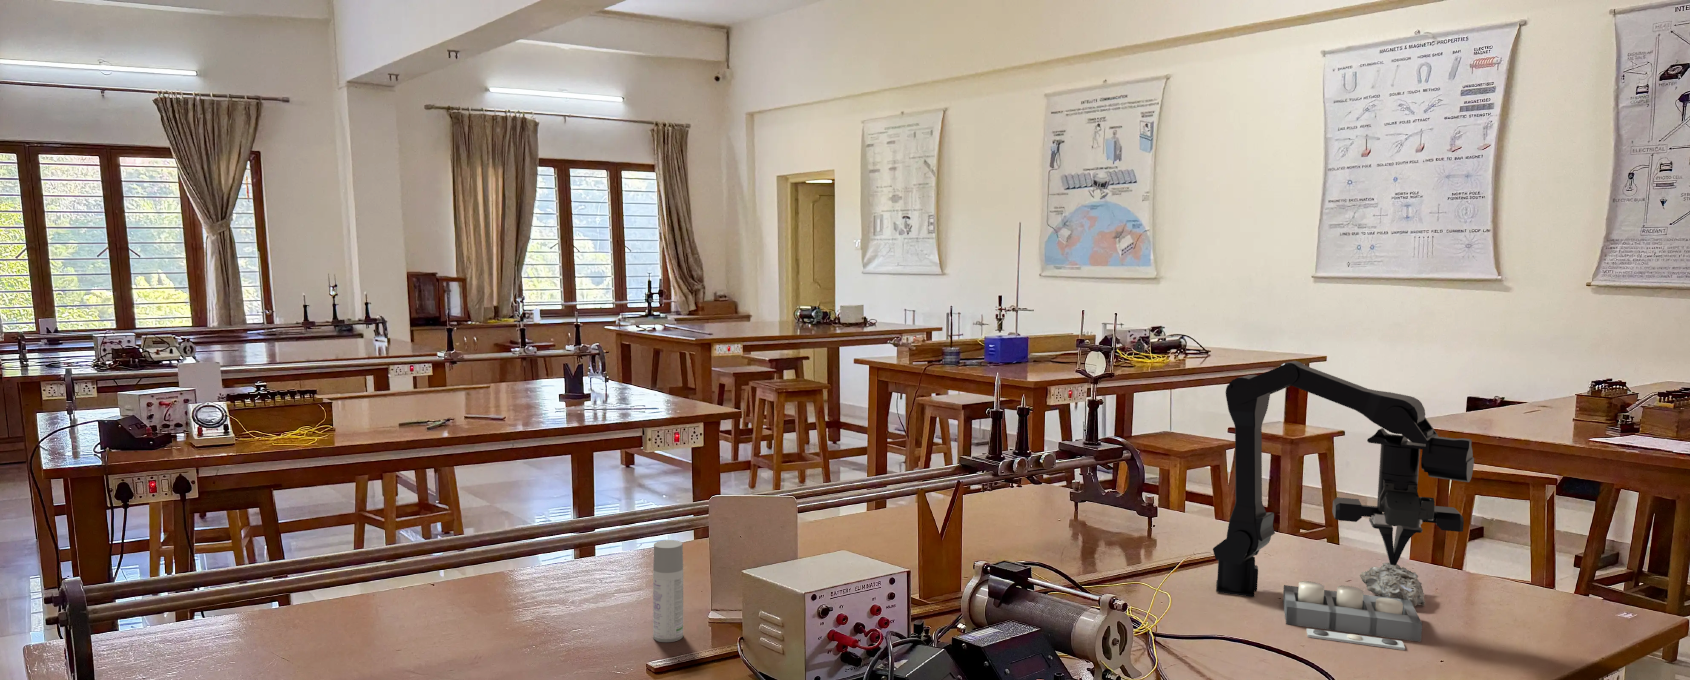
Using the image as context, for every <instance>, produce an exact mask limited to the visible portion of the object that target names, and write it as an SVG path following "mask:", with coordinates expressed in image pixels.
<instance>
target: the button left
mask: <svg viewBox="0 0 1690 680" xmlns="http://www.w3.org/2000/svg"><path fill="white" fill-rule="evenodd" d="M1298 587H1299V589H1298V602H1306V603H1314V604H1322V605H1323V601H1324V590H1325V585H1324V584H1322V583H1320V582H1316V581H1309V580H1308V581H1307V580H1304V581H1299V582H1298Z"/></svg>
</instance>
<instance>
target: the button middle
mask: <svg viewBox="0 0 1690 680" xmlns="http://www.w3.org/2000/svg"><path fill="white" fill-rule="evenodd" d="M1336 591H1337V599H1336V606H1338V607H1346V608H1354V609H1362V607H1363V595H1364V590H1363V589H1362V588H1359V587H1356V586H1352V585H1351V586H1350V585H1339V586H1337V587H1336Z"/></svg>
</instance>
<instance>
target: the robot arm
mask: <svg viewBox="0 0 1690 680" xmlns="http://www.w3.org/2000/svg"><path fill="white" fill-rule="evenodd" d="M1289 387H1293V388H1296V389H1299V390H1303V391H1304V392H1307V393H1309V394H1312V395H1314V396H1318V397H1319V398H1323V399H1325V400H1328V401H1331V402H1332V403H1336V404H1338V405H1340V406H1341V405H1342V406H1343V407H1346V408H1348V409H1352V410H1354V411H1356V412H1357V413H1360V414H1361V415H1363V416H1364V417H1365V418H1366V419H1368V420H1369V421H1370V422H1372V423H1373V424H1375V425H1377V426H1378V427H1381V428H1380V429H1379V428H1378V429H1377V431H1376V432H1375V433H1374V434H1373V435H1372V436H1369V438H1367V443H1369V444H1377V445H1380V452H1379V453H1380V454H1379V468H1378V469H1379V470H1378V472H1379V473H1378V485H1377V499H1376V500H1377V502H1376V505H1367V504H1362V503H1361V501H1360V499H1359V498H1351V497H1350V498H1348V497H1339V496H1338V497H1336V498H1334V499H1333V500H1332V511H1331V512H1332V515H1333V518H1334V519H1335V520H1337V521H1341V522H1342V521H1343V522H1353V523H1357V522H1358V521H1359V520H1361V519H1362V518H1363V517H1366V518H1368V522H1369V523H1370V525H1371V527H1372V528H1373V529H1375V530H1376V529H1377V530H1378V531H1379V534H1380V536H1381V538H1382V541H1383V545H1384V548H1385V551H1386V555H1387V559H1388V563H1389V562H1390V565H1396V564H1398V562H1399V559H1400V557H1401V555H1402V553H1403V551H1404V549H1405V547H1406V545H1407V544H1408V542H1409V541H1410V539H1411V538H1412V537H1413V536H1414V535H1415V534H1416V533H1417V534H1419V533H1423V528H1422V526H1421V525H1422V524H1423V523H1431V524H1435V525H1436V526H1437V527H1438V528H1439V529H1440V531H1446V532H1457V533H1458V532H1459V533H1460V532H1464V516H1463V515H1462V513H1460V512H1459V511H1458V510H1457V508H1455V507H1452V506H1451V507H1449V506H1442V505H1441V506H1438V505H1436V502H1435V501H1436V500H1435V498H1434V497H1427V496H1420V495H1419V493H1418V489H1419V488H1418V485H1419V483H1418V482H1419V472H1420V471H1419V470H1420V467H1421V470H1422V471H1423V472H1424V473H1427V476H1428V477H1430V478H1435V479H1436V478H1437V479H1443V480H1450V481H1457V482H1464V483H1470V482H1471V479H1472V476H1473V471H1474V465H1475V457H1473V456H1474V454H1473V447H1472V439H1471V438H1465V437H1464V438H1463V437H1462V438H1461V437H1459V438H1453V437H1452V438H1451V437H1443V436H1439V435H1438V432H1437V431H1436V430H1435V429H1434V427H1433V426H1432V424H1431V423H1430V422H1429V420H1428V419H1427V418H1426V410H1425V407H1424V405H1423V403H1422V402H1421V400H1419V399H1417V398H1416V397H1415V396H1411V395H1408V394H1407V395H1406V394H1401V393H1395V392H1391V391H1383V390H1377V389H1376V390H1375V389H1370V388H1367V387H1365V386H1361V385H1359V384H1356V383H1354V382H1350V381H1348V380H1345V379H1343V378H1339V377H1338V376H1334V375H1332V374H1329V373H1327V372H1323V371H1322V370H1319V369H1315V368H1313V367H1311V366H1308V365H1305V364H1303V363H1302V362H1300V361H1296V360H1294V361H1289V362H1288V361H1287V362H1285V363H1282V364H1281V365H1280V366H1278V367H1275V368H1273V369H1271V370H1268V371H1266V372H1264V373H1261V374H1258V375H1257V374H1249V375H1244V376H1239V377H1236V378H1235V379H1232V380H1231V381H1230V382H1229V383H1228V384H1227V385H1226V388H1225V398H1226V403H1227V404H1226V405H1227V409H1228V412H1229V416H1230V418H1231V420H1232V422H1233V424H1234V442H1235V443H1234V450H1235V451H1234V452H1235V454H1234V460H1235V461H1234V466H1235V467H1234V469H1235V473H1234V475H1235V480H1234V481H1235V485H1234V486H1235V490H1234V491H1235V495H1234V496H1235V500H1234V501H1235V503H1234V506H1233V509H1232V512H1231V514H1230V517H1229V520H1228V526H1227V532H1226V538H1225V539H1224V540H1222V541H1221V542H1219V543H1217V544H1216V545H1215V546H1214V547H1213V548H1212V551H1213V555H1214V558H1215V560H1217V561H1218V562H1217V577H1216V579H1217V580H1216V581H1215V582H1216V583H1215V584H1216V585H1215V587H1216V589H1215V592H1216V593H1219V594H1226V595H1227V594H1228V595H1235V596H1242V597H1243V596H1244V597H1252V598H1254V597H1255V592H1257V591H1258V582H1259V581H1258V579H1259V577H1258V576H1259V566H1258V565H1257V564H1256V557H1255V556H1257V555H1258V554H1259V552H1260V551H1261V549H1263V548H1265V547H1266V546H1267V545H1268V544H1269V543H1270V541H1271V539H1272V536H1274V535H1275V534H1276V533H1275V529H1274V519H1275V513H1274V512H1270V511H1269V512H1267V511H1266V509H1265V506H1264V504H1263V481H1262V479H1263V476H1262V475H1263V464H1262V463H1263V460H1262V459H1263V457H1262V455H1263V451H1262V449H1263V448H1262V443H1263V441H1262V437H1263V435H1262V427H1263V422H1264V420H1265V417H1266V414H1267V413H1268V408H1269V402H1270V398H1271V395H1272V394H1275V393H1277V392H1280V391H1283V390H1284V389H1286V388H1289ZM1388 432H1389V433H1388ZM1421 451H1422V452H1421ZM1420 453H1421V455H1420ZM1420 457H1421V458H1420ZM1394 527H1396V530H1395V534H1394V533H1393V531H1394ZM1393 535H1395V536H1393Z"/></svg>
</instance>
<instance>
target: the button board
mask: <svg viewBox="0 0 1690 680" xmlns="http://www.w3.org/2000/svg"><path fill="white" fill-rule="evenodd" d="M1298 589H1299V586H1296V585H1289V584H1288V585H1286V584H1284V585H1283V591H1282V592H1283V593H1282V604H1283V613H1284V619H1285V625H1291V626H1299V627H1306V628H1311V629H1319V630H1326V631H1334V632H1342V633H1349V634H1357V635H1358V634H1359V635H1364V636H1367V635H1368V636H1372V637H1379V638H1381V637H1382V638H1387V639H1395V640H1404V641H1411V642H1419V643H1421V642H1422V632H1423V622H1422V621H1421V619H1420V616H1419V615H1418V613H1417V610H1416V609H1415V606H1413V605H1412V603H1411V601H1410V600H1404V599H1396V598H1389V599H1394V600H1397V601H1400V602H1402V603H1403V612H1402V614H1394V613H1386V612H1378V611H1375V608H1376V599H1378V598H1388V597H1381V596H1379V595H1370V594H1363V607H1362V609H1354V608H1346V607H1338V606H1336V599H1337V590H1328V589H1324V601H1323V605H1322V604H1314V603H1306V602H1298Z"/></svg>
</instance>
